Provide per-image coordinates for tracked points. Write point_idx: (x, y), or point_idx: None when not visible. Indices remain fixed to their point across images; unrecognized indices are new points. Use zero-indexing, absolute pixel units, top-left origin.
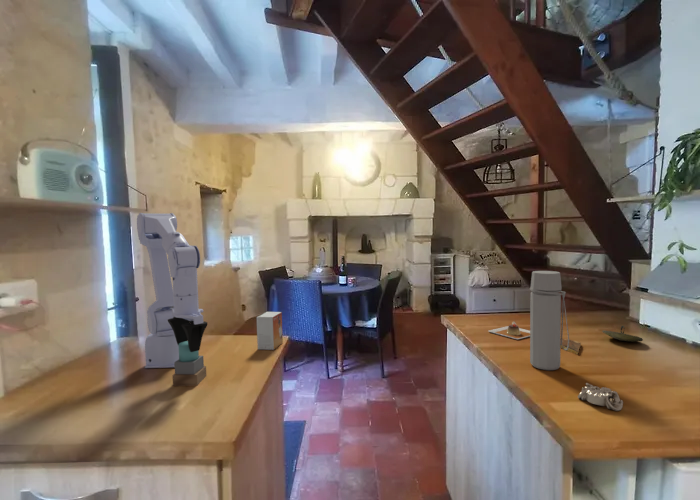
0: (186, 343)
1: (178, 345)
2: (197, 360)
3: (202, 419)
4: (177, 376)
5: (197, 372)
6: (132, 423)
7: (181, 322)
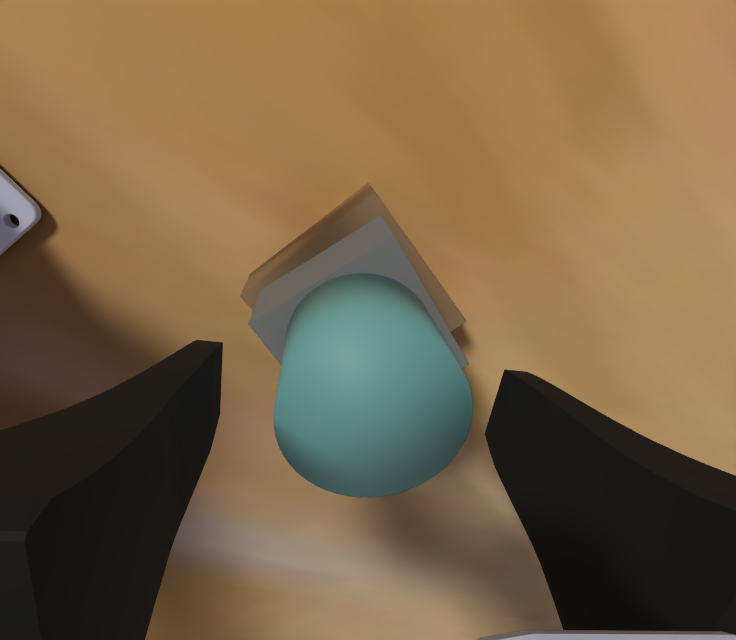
0: (362, 432)
1: (338, 489)
2: (442, 318)
3: (729, 446)
4: None
5: (433, 297)
6: (524, 573)
7: (108, 618)
